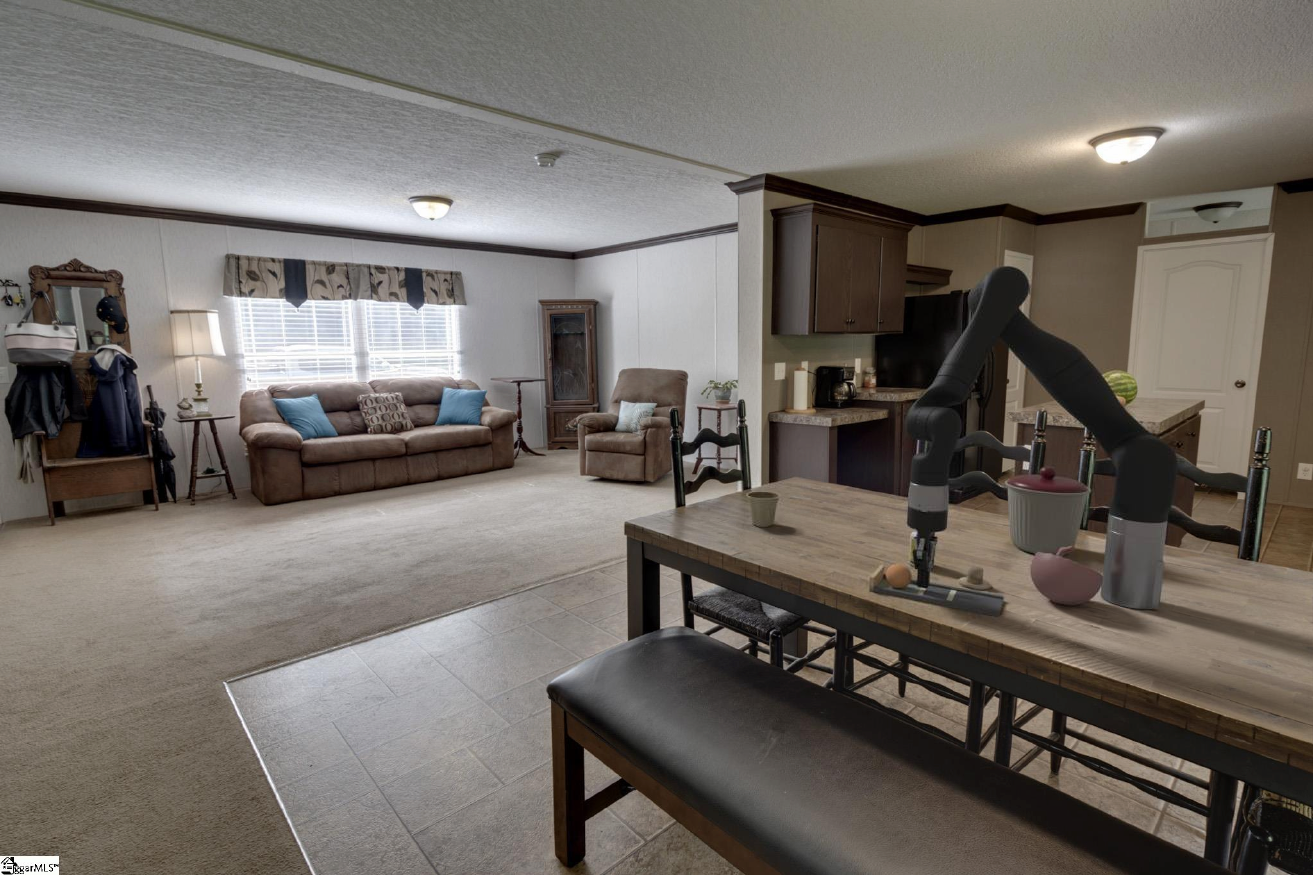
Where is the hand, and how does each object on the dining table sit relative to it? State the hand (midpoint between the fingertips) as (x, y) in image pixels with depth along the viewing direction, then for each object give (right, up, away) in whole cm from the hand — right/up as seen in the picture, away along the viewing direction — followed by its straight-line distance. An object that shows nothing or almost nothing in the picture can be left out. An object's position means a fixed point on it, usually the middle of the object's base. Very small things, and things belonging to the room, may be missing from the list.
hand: (922, 586), depth 132 cm
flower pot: (-25, +6, +51) cm, 57 cm away
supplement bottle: (+7, +1, +17) cm, 18 cm away
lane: (+2, -2, -1) cm, 3 cm away
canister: (+41, +3, +28) cm, 50 cm away
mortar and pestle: (+26, -2, -5) cm, 26 cm away
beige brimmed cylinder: (+13, -1, +5) cm, 14 cm away
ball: (-4, +2, +2) cm, 5 cm away
